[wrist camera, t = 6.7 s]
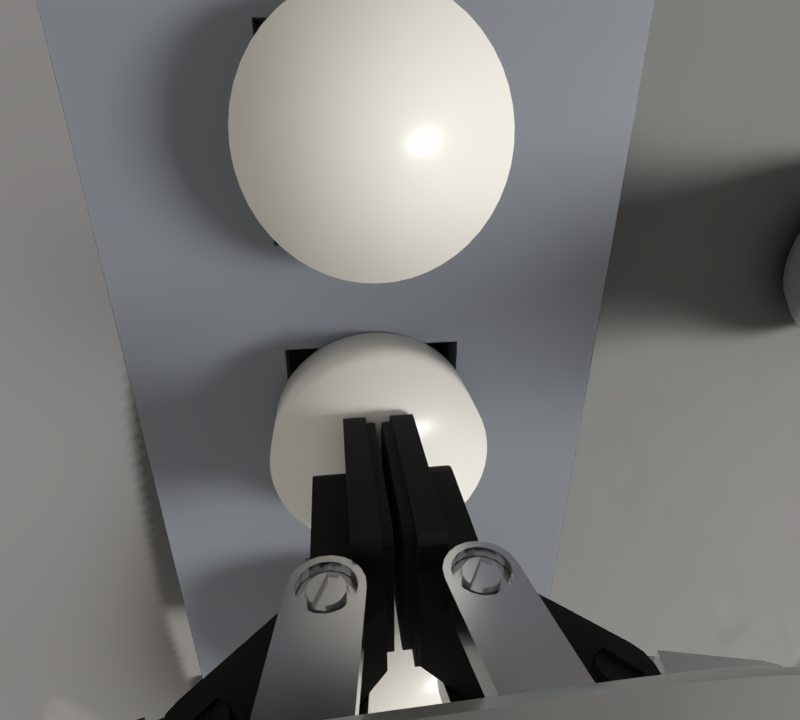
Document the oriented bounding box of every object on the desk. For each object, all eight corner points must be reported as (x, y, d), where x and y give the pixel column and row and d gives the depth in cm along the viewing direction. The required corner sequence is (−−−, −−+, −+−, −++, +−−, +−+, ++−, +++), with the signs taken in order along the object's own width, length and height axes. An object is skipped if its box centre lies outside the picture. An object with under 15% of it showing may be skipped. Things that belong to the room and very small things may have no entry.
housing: (105, -87, 13) (-12, -196, 8) (568, -65, 14) (680, -149, 10) (234, 601, 23) (212, 718, 19) (497, 574, 24) (535, 677, 20)
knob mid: (279, 288, 16) (257, 370, 11) (442, 282, 17) (495, 357, 12) (293, 429, 18) (280, 553, 13) (437, 420, 19) (479, 534, 14)
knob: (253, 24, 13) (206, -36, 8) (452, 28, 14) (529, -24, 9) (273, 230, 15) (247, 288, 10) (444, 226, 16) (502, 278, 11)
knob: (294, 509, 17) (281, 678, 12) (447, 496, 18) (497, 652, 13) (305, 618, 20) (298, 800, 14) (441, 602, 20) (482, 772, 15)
